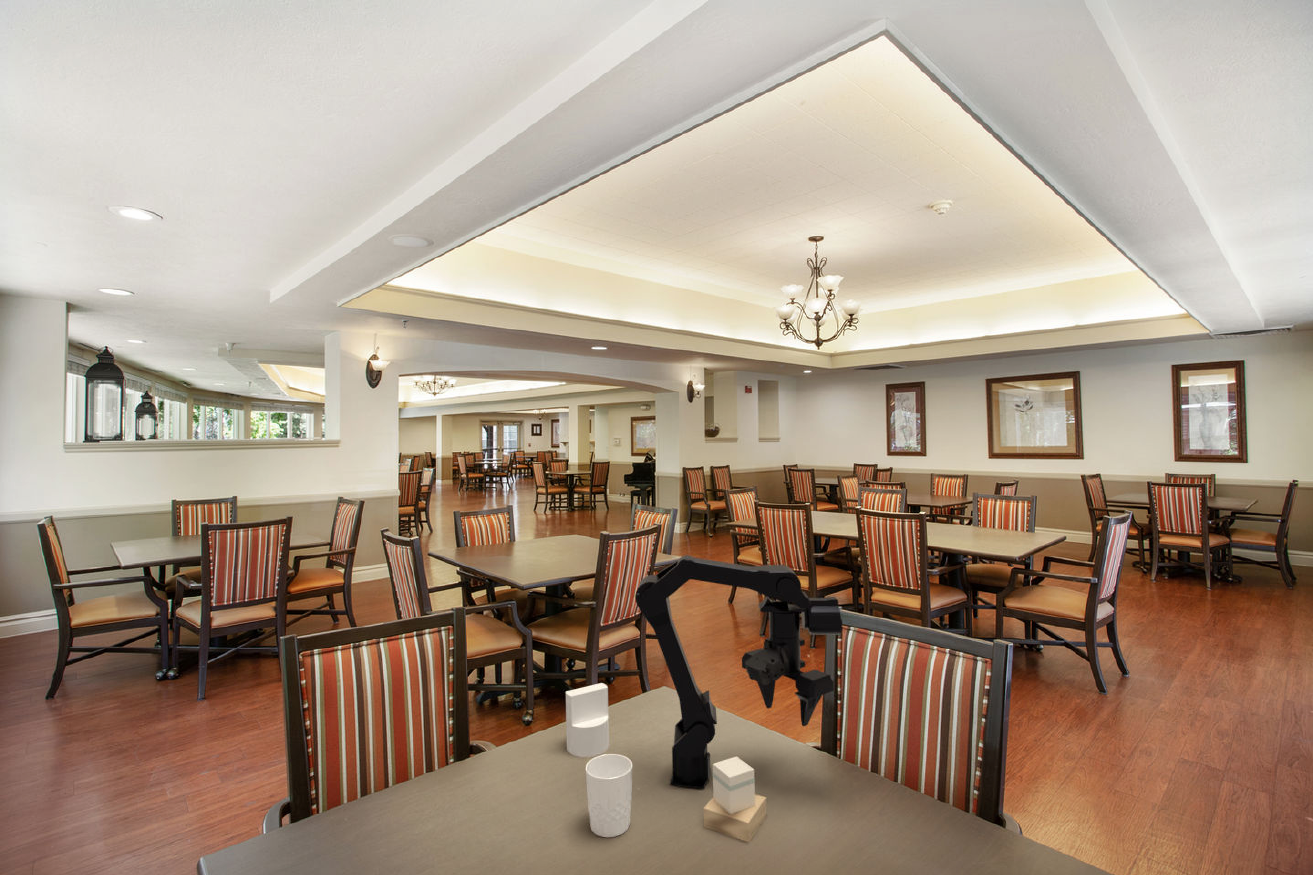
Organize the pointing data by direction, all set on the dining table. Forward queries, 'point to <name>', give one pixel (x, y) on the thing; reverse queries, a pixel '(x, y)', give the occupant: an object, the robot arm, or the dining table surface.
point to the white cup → (609, 794)
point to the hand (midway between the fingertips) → (786, 716)
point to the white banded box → (733, 785)
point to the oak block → (735, 819)
